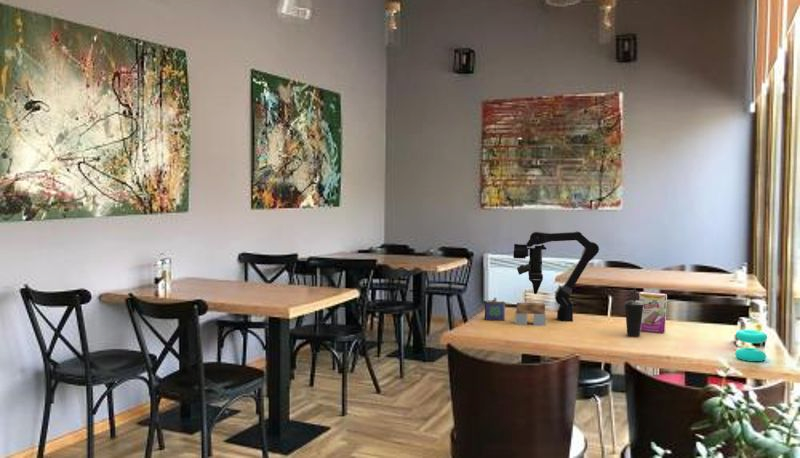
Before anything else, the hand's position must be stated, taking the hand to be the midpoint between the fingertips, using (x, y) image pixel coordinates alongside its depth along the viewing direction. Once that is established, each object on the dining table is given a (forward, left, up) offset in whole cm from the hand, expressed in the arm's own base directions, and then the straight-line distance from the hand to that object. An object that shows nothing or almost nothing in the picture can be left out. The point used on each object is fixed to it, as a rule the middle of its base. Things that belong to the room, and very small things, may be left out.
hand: (535, 292), depth 317 cm
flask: (+18, +8, -13) cm, 23 cm away
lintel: (+2, +13, -7) cm, 15 cm away
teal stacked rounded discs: (-76, +58, -13) cm, 96 cm away
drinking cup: (-40, +27, -13) cm, 50 cm away
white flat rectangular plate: (+2, +13, -12) cm, 18 cm away
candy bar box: (-49, +16, -13) cm, 53 cm away
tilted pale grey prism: (+6, +13, -12) cm, 19 cm away
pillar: (-2, +13, -12) cm, 18 cm away
